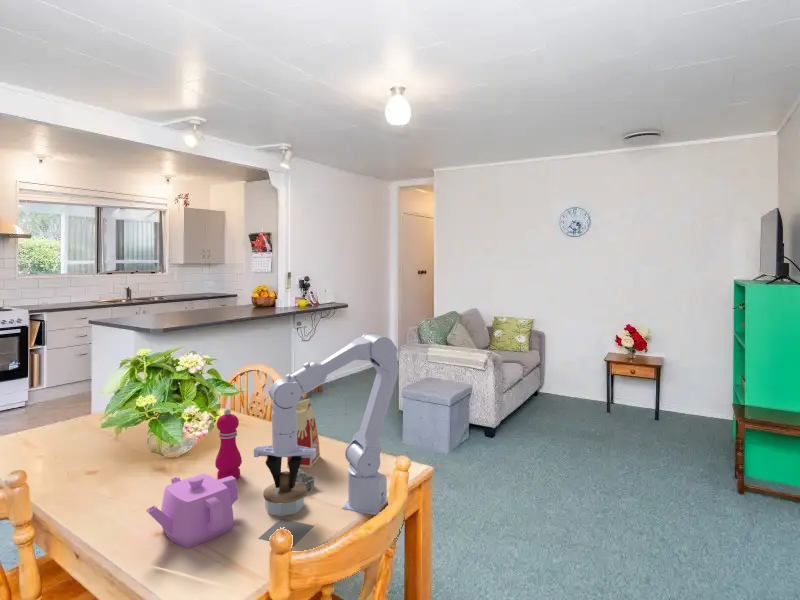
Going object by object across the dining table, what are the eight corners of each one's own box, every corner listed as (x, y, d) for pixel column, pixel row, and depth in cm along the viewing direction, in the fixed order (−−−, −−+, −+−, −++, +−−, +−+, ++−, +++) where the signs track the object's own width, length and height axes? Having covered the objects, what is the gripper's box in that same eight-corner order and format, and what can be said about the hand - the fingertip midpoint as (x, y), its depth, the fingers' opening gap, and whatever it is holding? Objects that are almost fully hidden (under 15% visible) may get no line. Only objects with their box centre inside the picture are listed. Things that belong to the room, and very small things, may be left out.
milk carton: (320, 456, 158) (319, 395, 157) (312, 468, 149) (311, 403, 148) (292, 455, 159) (291, 394, 158) (282, 466, 150) (281, 402, 149)
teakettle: (224, 549, 107) (223, 494, 106) (143, 552, 106) (141, 496, 105) (243, 510, 124) (242, 462, 123) (173, 512, 123) (172, 464, 122)
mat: (313, 527, 116) (313, 525, 116) (293, 547, 108) (293, 546, 108) (280, 520, 119) (280, 518, 119) (258, 539, 111) (258, 538, 111)
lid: (315, 490, 119) (315, 470, 119) (286, 507, 111) (285, 486, 110) (284, 481, 124) (284, 462, 124) (254, 496, 116) (254, 476, 115)
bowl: (309, 502, 128) (309, 489, 128) (290, 519, 119) (290, 505, 119) (279, 496, 131) (279, 484, 131) (258, 513, 122) (258, 499, 122)
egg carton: (273, 486, 138) (272, 472, 137) (295, 477, 143) (295, 464, 143) (296, 498, 131) (296, 483, 130) (318, 489, 136) (318, 474, 136)
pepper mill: (233, 483, 139) (232, 413, 137) (210, 481, 140) (208, 412, 139) (246, 472, 146) (245, 406, 144) (224, 470, 147) (222, 404, 146)
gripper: (319, 425, 120) (319, 480, 121) (260, 424, 121) (261, 477, 122) (311, 436, 113) (312, 493, 114) (249, 434, 114) (251, 491, 115)
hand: (285, 486), depth 118 cm, fingers closed on lid, 3 cm apart
